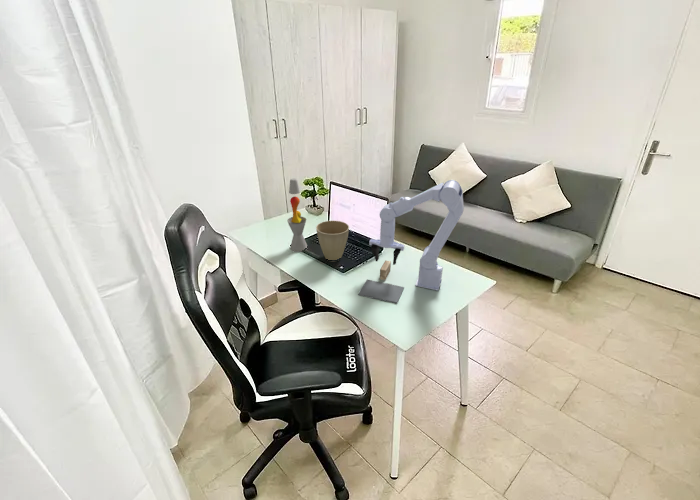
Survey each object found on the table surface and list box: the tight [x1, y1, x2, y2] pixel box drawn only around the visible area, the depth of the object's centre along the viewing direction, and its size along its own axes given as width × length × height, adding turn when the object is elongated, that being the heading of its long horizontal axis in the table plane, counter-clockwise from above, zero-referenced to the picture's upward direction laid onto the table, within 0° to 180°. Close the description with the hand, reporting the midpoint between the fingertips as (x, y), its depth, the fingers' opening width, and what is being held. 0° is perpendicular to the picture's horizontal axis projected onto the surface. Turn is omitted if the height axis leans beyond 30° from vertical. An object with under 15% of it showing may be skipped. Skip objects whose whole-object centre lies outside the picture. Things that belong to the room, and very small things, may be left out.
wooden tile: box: [379, 260, 392, 281], centre depth 154 cm, size 2×8×5 cm, turn 159°
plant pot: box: [315, 220, 350, 261], centre depth 164 cm, size 15×15×16 cm
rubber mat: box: [358, 279, 405, 304], centre depth 144 cm, size 16×11×1 cm
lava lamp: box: [287, 178, 308, 253], centre depth 169 cm, size 9×9×35 cm
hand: (385, 262), depth 152 cm, fingers open, 7 cm apart
